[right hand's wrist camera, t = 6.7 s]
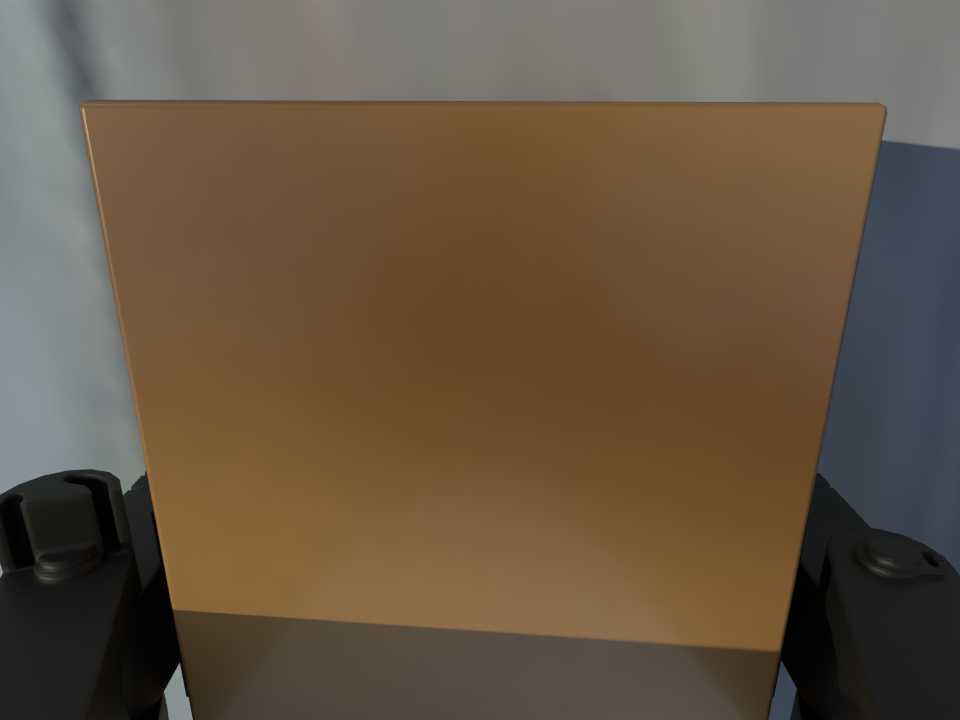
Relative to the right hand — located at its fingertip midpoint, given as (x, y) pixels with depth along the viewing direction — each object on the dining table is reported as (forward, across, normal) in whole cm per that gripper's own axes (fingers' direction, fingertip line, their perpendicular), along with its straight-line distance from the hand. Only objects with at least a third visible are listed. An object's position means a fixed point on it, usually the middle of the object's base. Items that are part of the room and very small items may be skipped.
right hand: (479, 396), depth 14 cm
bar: (0, 0, -25) cm, 25 cm away
